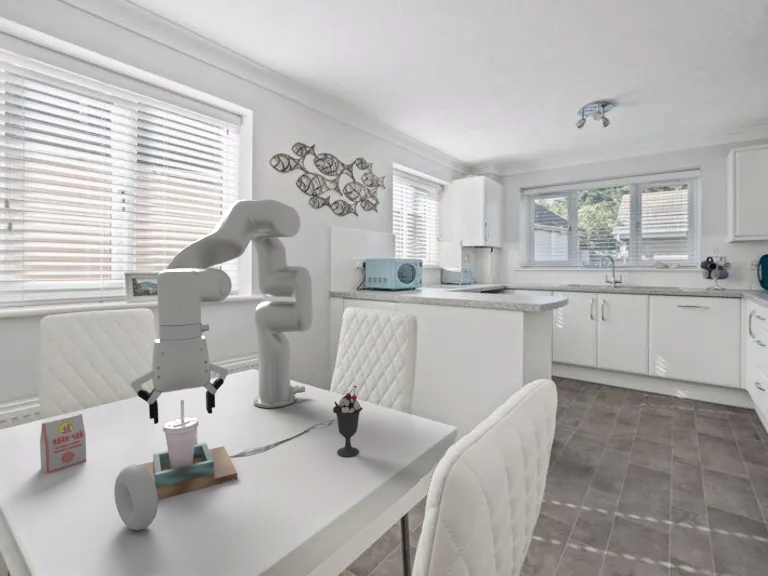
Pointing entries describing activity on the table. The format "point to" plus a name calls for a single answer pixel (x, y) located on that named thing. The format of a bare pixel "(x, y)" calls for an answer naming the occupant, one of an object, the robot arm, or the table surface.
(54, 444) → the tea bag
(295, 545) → the table surface
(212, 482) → the holder board
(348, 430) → the sundae
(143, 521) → the donut
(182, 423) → the smoothie
